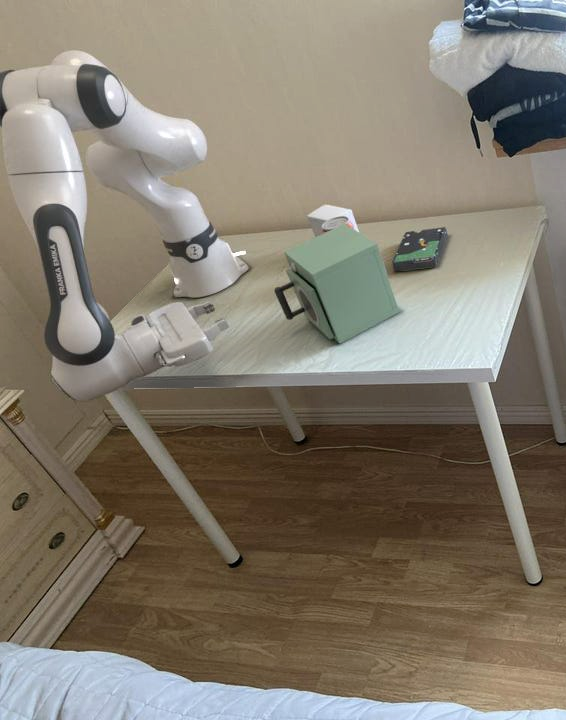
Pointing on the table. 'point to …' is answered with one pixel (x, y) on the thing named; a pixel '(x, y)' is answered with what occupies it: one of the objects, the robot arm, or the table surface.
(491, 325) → the table surface
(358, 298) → the washer
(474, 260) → the table surface
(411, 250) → the disk drive
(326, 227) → the soda can
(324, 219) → the cosmetics box
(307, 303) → the door
